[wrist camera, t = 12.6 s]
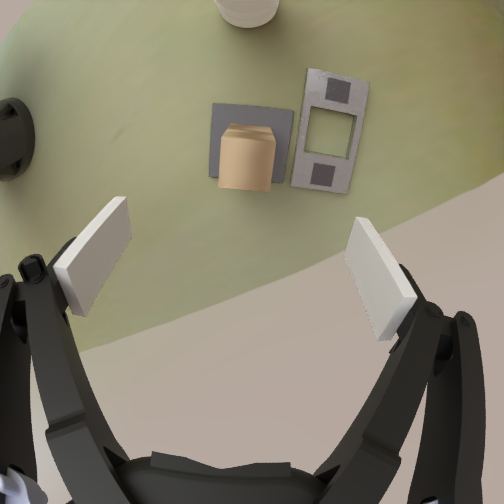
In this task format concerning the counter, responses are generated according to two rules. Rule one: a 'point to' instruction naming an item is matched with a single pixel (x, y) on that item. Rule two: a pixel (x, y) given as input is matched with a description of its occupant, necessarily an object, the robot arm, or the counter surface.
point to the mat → (251, 116)
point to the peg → (247, 157)
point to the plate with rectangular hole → (339, 99)
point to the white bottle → (247, 11)
